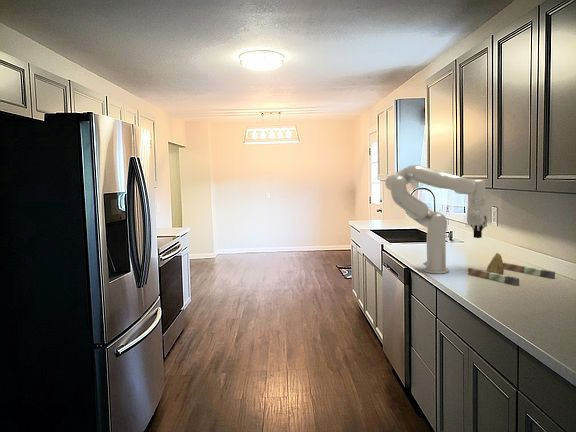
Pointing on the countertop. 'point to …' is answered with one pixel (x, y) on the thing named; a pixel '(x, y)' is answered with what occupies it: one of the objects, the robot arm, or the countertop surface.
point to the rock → (496, 265)
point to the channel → (507, 278)
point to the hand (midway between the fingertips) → (477, 237)
